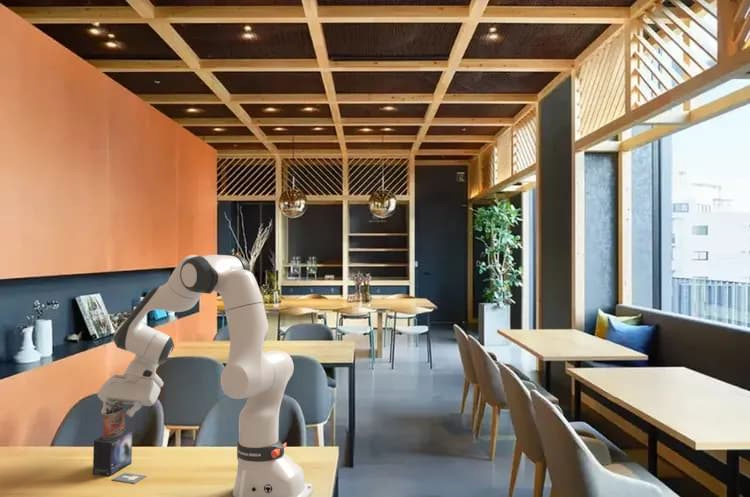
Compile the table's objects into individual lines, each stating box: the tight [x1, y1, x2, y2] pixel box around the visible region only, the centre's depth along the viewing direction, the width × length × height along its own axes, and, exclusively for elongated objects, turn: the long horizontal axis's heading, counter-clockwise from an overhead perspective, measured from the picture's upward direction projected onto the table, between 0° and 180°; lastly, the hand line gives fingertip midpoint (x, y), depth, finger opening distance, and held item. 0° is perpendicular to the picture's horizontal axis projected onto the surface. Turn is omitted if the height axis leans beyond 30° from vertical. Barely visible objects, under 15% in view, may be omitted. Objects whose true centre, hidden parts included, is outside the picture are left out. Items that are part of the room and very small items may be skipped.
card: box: [111, 472, 147, 484], centre depth 161 cm, size 8×5×1 cm, turn 74°
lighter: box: [102, 401, 126, 440], centre depth 169 cm, size 8×3×10 cm, turn 164°
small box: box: [92, 430, 133, 477], centre depth 168 cm, size 11×6×10 cm, turn 169°
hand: (116, 414), depth 169 cm, fingers open, 8 cm apart
